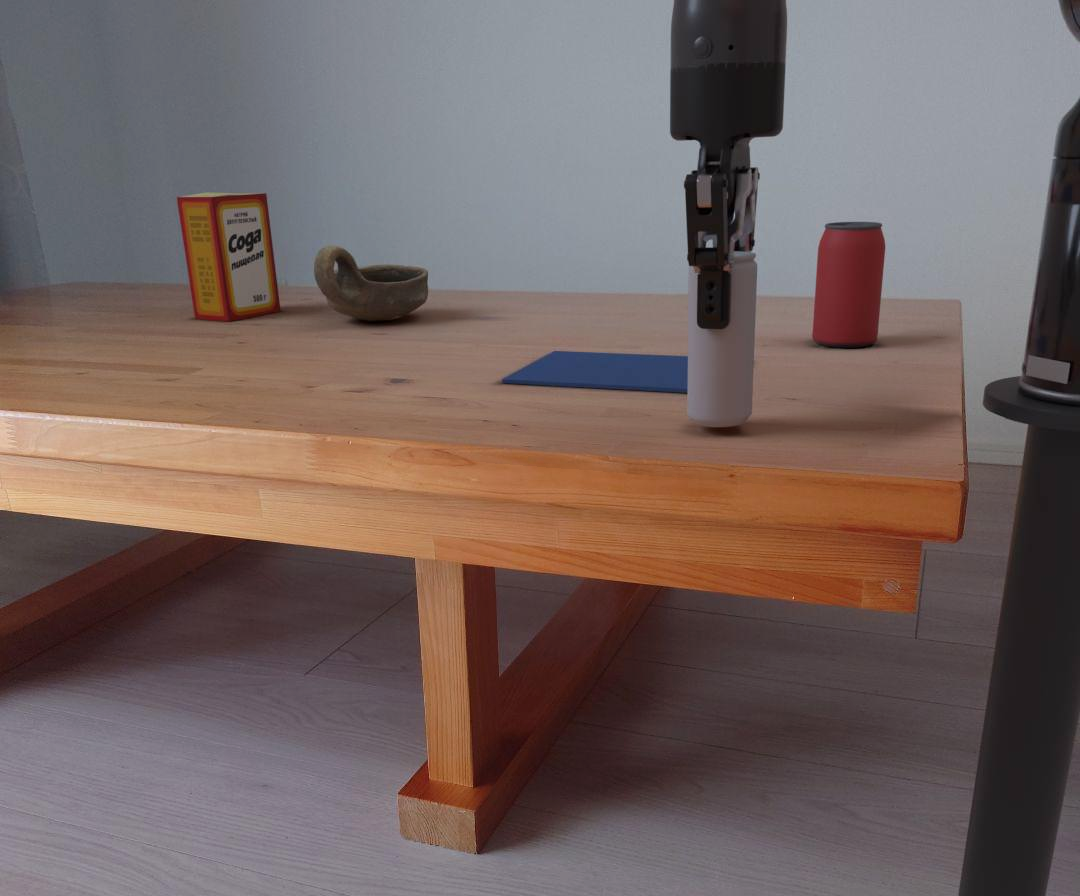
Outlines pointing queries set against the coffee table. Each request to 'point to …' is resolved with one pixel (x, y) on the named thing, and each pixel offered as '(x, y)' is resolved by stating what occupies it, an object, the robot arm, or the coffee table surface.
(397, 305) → the bowl
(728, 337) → the beverage can
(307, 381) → the coffee table surface
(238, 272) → the baking soda box
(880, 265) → the beer can
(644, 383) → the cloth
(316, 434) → the coffee table surface
